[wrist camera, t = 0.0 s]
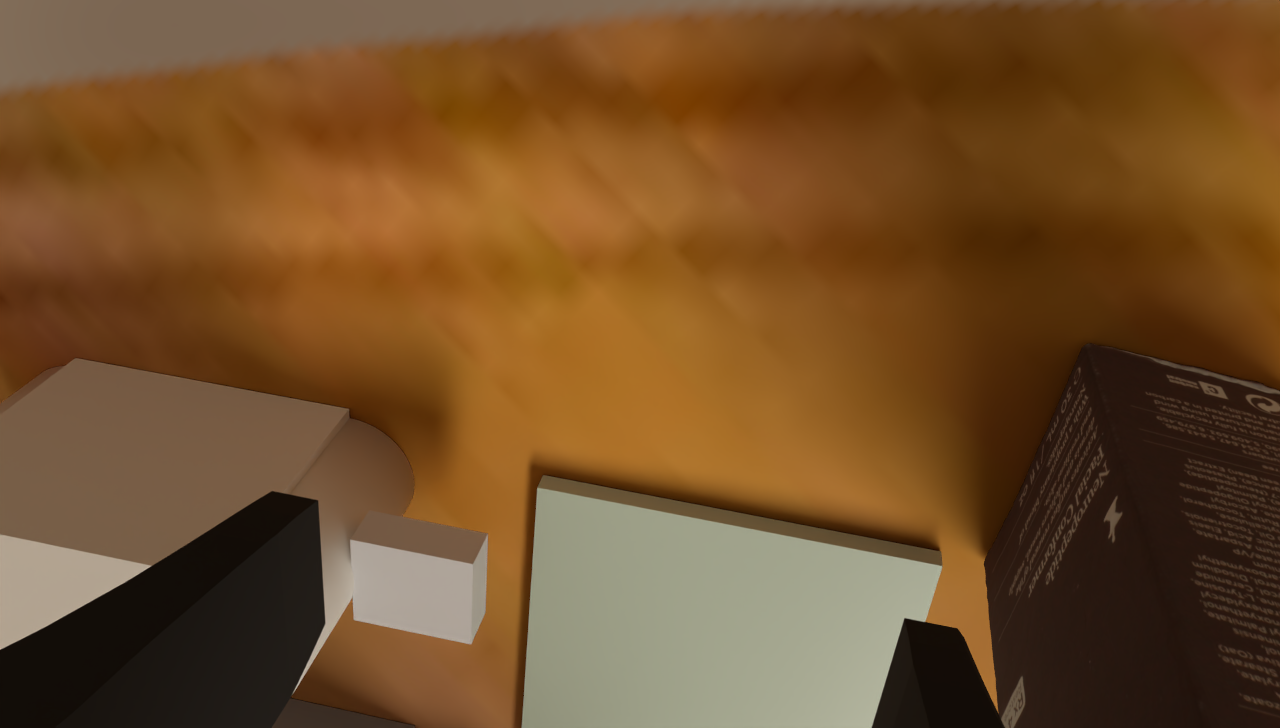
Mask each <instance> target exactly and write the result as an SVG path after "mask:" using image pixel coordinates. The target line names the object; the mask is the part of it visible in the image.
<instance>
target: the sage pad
mask: <svg viewBox="0 0 1280 728" xmlns="http://www.w3.org/2000/svg"><path fill="white" fill-rule="evenodd" d="M941 569H942V555H941V551H935V550H930V549H925V548H920V547H915V546H909V545H904V544H899V543H894V542H889V541H883V540H878V539H873V538H868V537H863V536H858V535H852V534H847V533H842V532H837V531H832V530H826V529H821V528H816V527H811V526H806V525H800V524H795V523H790V522H785V521H780V520H774V519H769V518H764V517H759V516H754V515H749V514H743V513H738V512H733V511H728V510H723V509H717V508H712V507H707V506H702V505H697V504H691V503H686V502H681V501H676V500H671V499H665V498H660V497H655V496H650V495H645V494H640V493H634V492H629V491H624V490H619V489H614V488H608V487H603V486H598V485H593V484H588V483H582V482H577V481H572V480H567V479H562V478H556V477H551V476H546V475H543V476H542V478H541V481H540V483H539V485H538V487H537V501H536V516H535V532H534V547H533V562H532V578H531V593H530V608H529V624H528V639H527V654H526V670H525V685H524V700H523V715H522V728H872V725H873V721H874V718H875V715H876V711H877V708H878V705H879V701H880V698H881V695H882V691H883V688H884V685H885V681H886V678H887V675H888V671H889V668H890V665H891V661H892V658H893V655H894V651H895V648H896V645H897V641H898V638H899V635H900V631H901V628H902V625H903V621H904V618H907V619H912V620H917V621H922V622H925V621H926V618H927V614H928V611H929V608H930V605H931V602H932V598H933V595H934V592H935V589H936V585H937V582H938V579H939V576H940V573H941Z"/></svg>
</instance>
